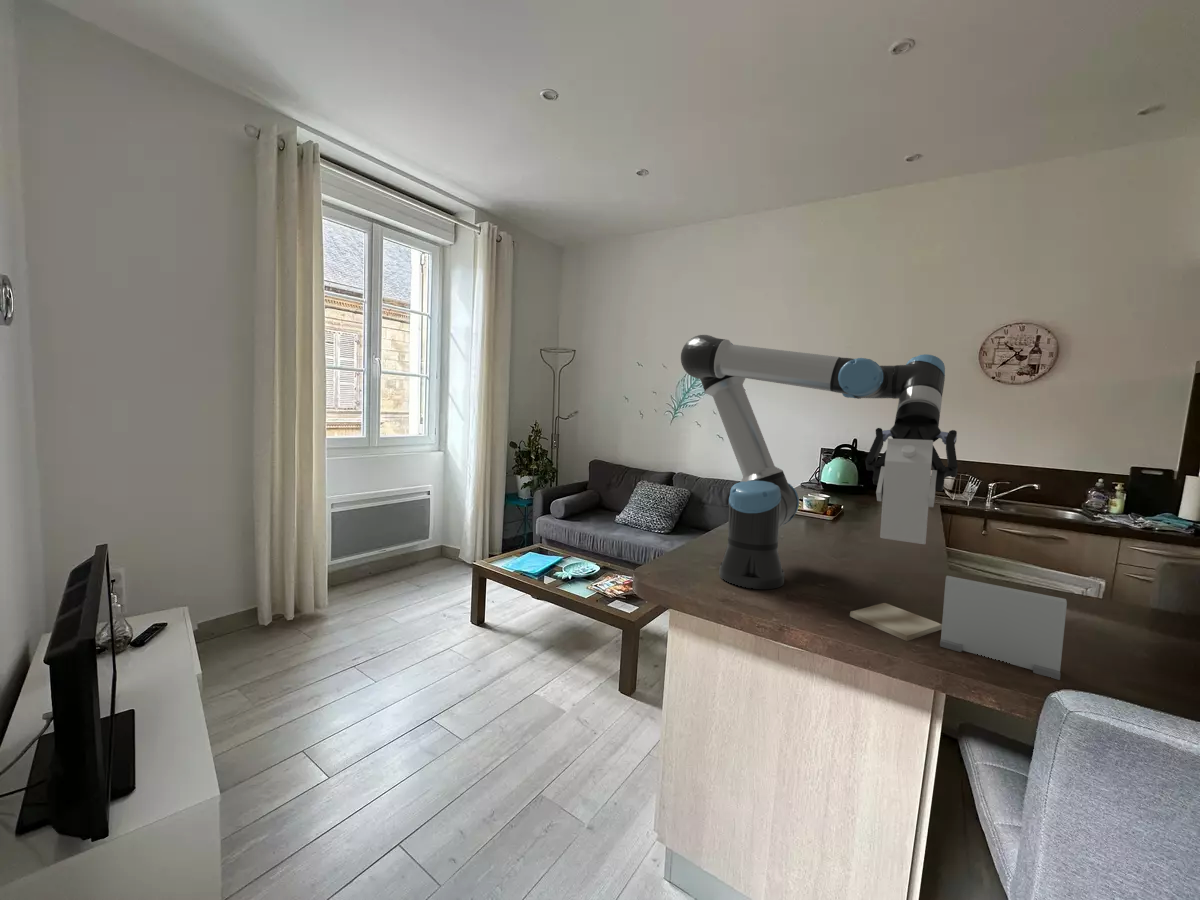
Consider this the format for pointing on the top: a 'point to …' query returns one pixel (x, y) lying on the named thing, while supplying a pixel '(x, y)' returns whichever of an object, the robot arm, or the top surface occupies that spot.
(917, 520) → the milk carton
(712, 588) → the top surface
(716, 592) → the top surface
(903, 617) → the birch board
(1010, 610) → the grey screen
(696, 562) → the top surface
